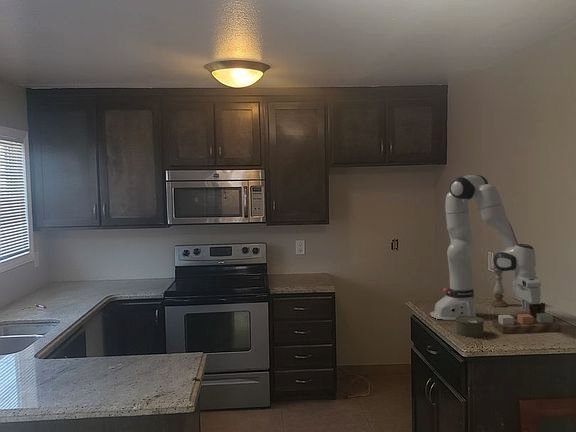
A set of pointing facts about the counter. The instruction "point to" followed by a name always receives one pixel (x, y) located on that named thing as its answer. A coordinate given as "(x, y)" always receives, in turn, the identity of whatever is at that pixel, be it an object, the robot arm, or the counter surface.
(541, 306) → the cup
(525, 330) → the walnut button board
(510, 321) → the grey button
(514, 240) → the robot arm
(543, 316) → the sage button
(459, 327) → the can
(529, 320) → the terracotta button
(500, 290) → the candle holder
